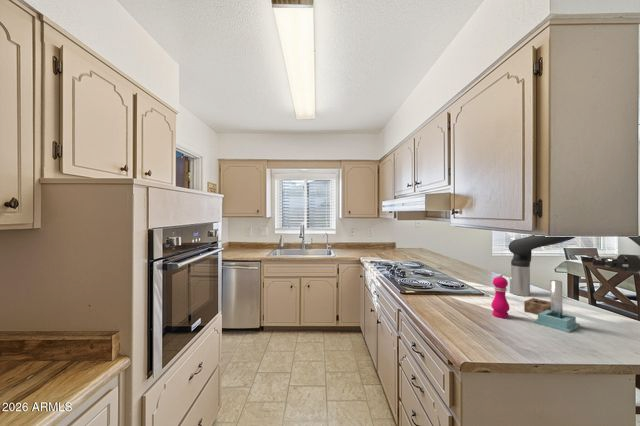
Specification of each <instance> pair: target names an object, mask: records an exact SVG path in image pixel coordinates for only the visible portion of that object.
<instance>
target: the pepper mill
mask: <svg viewBox="0 0 640 426" xmlns="http://www.w3.org/2000/svg"><path fill="white" fill-rule="evenodd" d="M492 285H494V286H493V288H494V289H493V290H494V298H493V299H492V302H491V309H493V310H492V315H493V316H494V317H496V318H499V319H508V318H509V310H510V309H511V308H510V304H509V301H508V300H507V297H506V293H507V287H508V285H509V283H508V280H507V279H506V278H505V277H503V274H502V273H498V274H497V276H496V277H494V278H493V280H492Z"/></svg>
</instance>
